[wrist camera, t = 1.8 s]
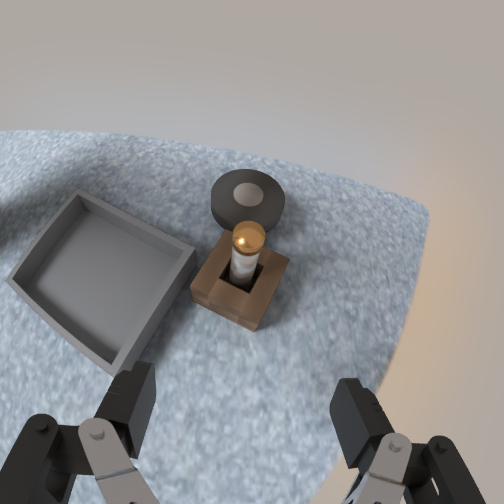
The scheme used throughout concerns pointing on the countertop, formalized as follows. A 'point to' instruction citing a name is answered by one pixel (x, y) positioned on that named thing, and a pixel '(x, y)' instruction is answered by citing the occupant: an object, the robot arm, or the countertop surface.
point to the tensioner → (219, 261)
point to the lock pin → (245, 253)
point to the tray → (102, 279)
